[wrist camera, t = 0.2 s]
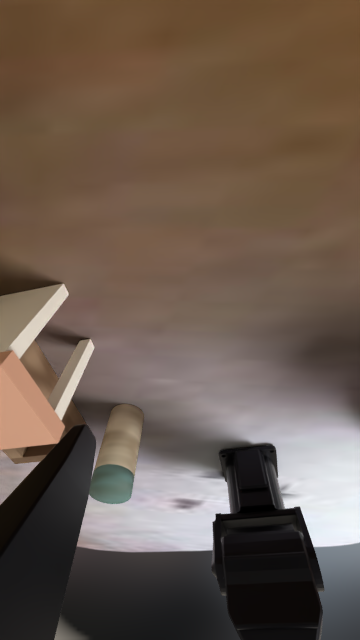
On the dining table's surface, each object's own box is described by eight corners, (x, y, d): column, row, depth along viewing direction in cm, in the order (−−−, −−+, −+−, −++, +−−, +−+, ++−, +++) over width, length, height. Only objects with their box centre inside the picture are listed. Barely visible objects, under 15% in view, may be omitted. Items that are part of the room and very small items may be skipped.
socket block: (91, 431, 32) (82, 456, 30) (28, 439, 33) (15, 463, 31) (16, 310, 24) (-5, 330, 21) (-66, 325, 25) (-94, 347, 22)
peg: (147, 423, 31) (136, 502, 25) (117, 427, 32) (97, 505, 25) (138, 402, 29) (123, 480, 23) (105, 406, 30) (81, 484, 23)
